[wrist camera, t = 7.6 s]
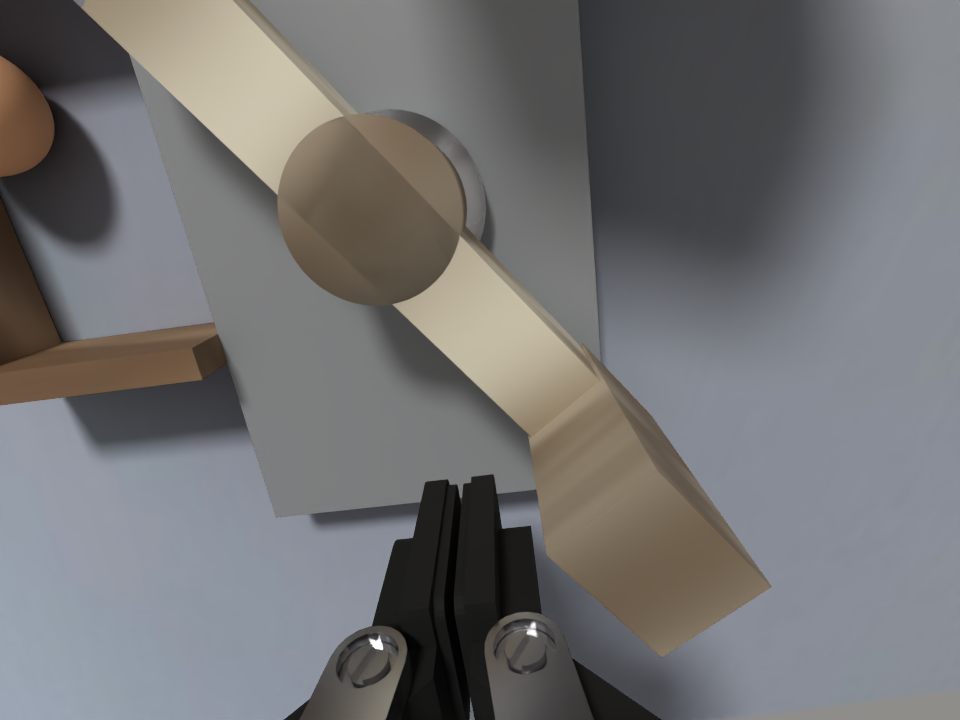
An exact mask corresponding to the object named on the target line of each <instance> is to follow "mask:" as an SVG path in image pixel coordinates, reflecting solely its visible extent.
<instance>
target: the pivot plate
mask: <svg viewBox="0 0 960 720" xmlns="http://www.w3.org/2000/svg"><path fill="white" fill-rule="evenodd" d="M364 114H371V115H379V116H383V117H388V118H391V119H394V120H396V121H399V122H402V123H403V124H405V125H407V126H409V127H411V128H413V129H414V130H415V131H417V132H418V133H420V134H421V135H422V136H424V137H425V138H426V139H428V140H429V141H430V142H432V143H433V144H434V145H436V146H437V147H438V148H439V149H440V150H441V151H442V152H443V153H445V155H446V156H447V157H448V158H449V160H450V161H451V162H452V164H453V165H454V167H455V168H456V170H457V172H458V174H459V176H460V178H461V181H462V184H463V187H464V190H465V195H466V200H467V220H466V227H467V228H468V229H469V230H470V231H471V232H472V233H473V234H474V235H475V236H476V237H477V238H478V240H479V241H480V240H481V237H482V234H483V229H484V224H485V216H486V200H485V192H484V186H483V182H482V179H481V176H480V173H479V171H478V169H477V166H476V164H475V162H474V160H473V159H472V157H471V156H470V154H469V153H468V151H467V149H466V148H465V147H464V146H463V144H462V143H461V142H460V141H459V140H458V139H457V138H456V137H455V136H454V135H453V134H452V133H451V132H450V131H449V130H447V129H446V128H445V127H443V126H442V125H440V124H439V123H437V122H436V121H434V120H432V119H430V118H428V117H426V116H423V115H420V114H417V113H415V112H410V111H405V110H396V109H385V110H376V111H371V112H367V113H364Z"/></svg>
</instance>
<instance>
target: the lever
mask: <svg viewBox="0 0 960 720" xmlns="http://www.w3.org/2000/svg"><path fill="white" fill-rule="evenodd" d="M74 1H75V2H76V3H77V4H78V5H79V6H80V7H81V8H82V9H83V10H84V11H85V12H86V13H87V14H88V15H89V16H90V17H91V18H92V19H94V20H95V21H96V22H97V23H98V24H99V25H100V26H101V27H102V28H103V29H104V30H105V31H106V32H107V33H108V34H109V35H110V36H111V37H112V38H113V39H114V40H116V41H117V42H118V43H119V44H120V45H121V46H122V47H123V48H124V49H125V50H126V51H127V52H128V53H129V54H130V55H131V56H132V57H133V58H134V59H135V60H137V61H138V62H139V63H140V64H141V65H142V66H143V67H144V68H145V69H146V70H147V71H148V72H149V73H150V74H151V75H152V76H153V77H154V78H155V79H156V80H158V81H159V82H160V83H161V84H162V85H163V86H164V87H165V88H166V89H167V90H168V91H169V92H170V93H171V94H172V95H173V96H174V97H175V98H176V99H177V100H178V101H180V102H181V103H182V104H183V105H184V106H185V107H186V108H187V109H188V110H189V111H190V112H191V113H192V114H193V115H194V116H195V117H196V118H197V119H198V120H199V121H201V122H202V123H203V124H204V125H205V126H206V127H207V128H208V129H209V130H210V131H211V132H212V133H213V134H214V135H215V136H216V137H217V138H218V139H219V140H220V141H221V142H223V143H224V144H225V145H226V146H227V147H228V148H229V149H230V150H231V151H232V152H233V153H234V154H235V155H236V156H237V157H238V158H239V159H240V160H241V161H242V162H244V163H245V164H246V165H247V166H248V167H249V168H250V169H251V170H252V171H253V172H254V173H255V174H256V175H257V176H258V177H259V178H260V179H261V180H262V181H263V182H265V183H266V184H267V185H268V186H269V187H270V188H271V189H272V190H273V191H274V192H275V193H276V194H277V195H278V200H277V204H278V217H279V223H280V228H281V231H282V234H283V238H284V240H285V242H286V245H287V247H288V249H289V251H290V253H291V255H292V256H293V258H294V260H295V261H296V263H297V264H298V265H299V267H300V268H301V269H302V271H303V272H304V273H305V274H306V275H307V276H308V277H309V278H310V279H311V280H312V281H313V282H315V283H316V284H317V285H318V286H320V287H321V288H322V289H324V290H326V291H327V292H329V293H330V294H332V295H334V296H336V297H338V298H340V299H343V300H346V301H349V302H352V303H356V304H361V305H370V306H383V305H391V304H392V305H394V306H395V307H396V308H397V309H398V310H399V311H400V312H401V313H402V314H403V315H404V316H405V317H406V318H407V319H408V320H409V321H410V322H411V323H412V324H413V325H415V326H416V327H417V328H418V329H419V330H420V331H421V332H422V333H423V334H424V335H425V336H426V337H427V338H428V339H429V340H430V341H431V342H432V343H433V344H434V345H435V346H437V347H438V348H439V349H440V350H441V351H442V352H443V353H444V354H445V355H446V356H447V357H448V358H449V359H450V360H451V361H452V362H453V363H454V364H455V365H456V366H458V367H459V368H460V369H461V370H462V371H463V372H464V373H465V374H466V375H467V376H468V377H469V378H470V379H471V380H472V381H473V382H474V383H475V384H476V385H477V386H479V387H480V388H481V389H482V390H483V391H484V392H485V393H486V394H487V395H488V396H489V397H490V398H491V399H492V400H493V401H494V402H495V403H496V404H497V405H498V406H499V407H501V408H502V409H503V410H504V411H505V412H506V413H507V414H508V415H509V416H510V417H511V418H512V419H513V420H514V421H515V422H516V423H517V424H518V425H519V426H520V427H522V428H523V429H524V430H525V431H526V432H527V433H528V438H529V444H530V451H531V457H532V464H533V470H534V476H535V483H536V489H537V496H538V502H539V509H540V515H541V522H542V528H543V535H544V541H545V548H546V554H547V556H548V557H549V558H550V559H551V560H552V561H553V562H554V563H556V564H557V565H558V566H559V567H560V568H561V569H562V570H563V571H565V572H566V573H567V574H568V575H569V576H570V577H571V578H573V579H574V580H575V581H576V582H577V583H578V584H579V585H580V586H582V587H583V588H584V589H585V590H586V591H587V592H588V593H589V594H591V595H592V596H593V597H594V598H595V599H596V600H597V601H598V602H600V603H601V604H602V605H603V606H604V607H605V608H606V609H608V610H609V611H610V612H611V613H612V614H613V615H614V616H615V617H617V618H618V619H619V620H620V621H621V622H622V623H623V624H624V625H626V626H627V627H628V628H629V629H630V630H631V631H632V632H634V633H635V634H636V635H637V636H638V637H639V638H640V639H641V640H643V641H644V642H645V643H646V644H647V645H648V646H649V647H650V648H652V649H653V650H654V651H655V652H656V653H657V654H658V655H659V656H661V657H663V656H665V655H667V654H668V653H670V652H671V651H673V650H674V649H676V648H677V647H679V646H681V645H682V644H684V643H685V642H687V641H688V640H690V639H691V638H693V637H695V636H696V635H698V634H699V633H701V632H702V631H704V630H705V629H707V628H709V627H710V626H712V625H713V624H715V623H716V622H718V621H719V620H721V619H723V618H724V617H726V616H727V615H729V614H730V613H732V612H733V611H735V610H737V609H738V608H740V607H741V606H743V605H744V604H746V603H747V602H749V601H750V600H752V599H754V598H755V597H757V596H758V595H760V594H761V593H763V592H764V591H766V590H768V589H769V588H771V585H770V584H769V582H768V581H767V579H766V578H765V577H764V575H763V574H762V572H761V571H760V570H759V568H758V567H757V565H756V564H755V562H754V561H753V560H752V558H751V557H750V555H749V554H748V552H747V551H746V550H745V548H744V547H743V545H742V544H741V542H740V541H739V540H738V538H737V537H736V535H735V534H734V533H733V531H732V530H731V528H730V527H729V525H728V524H727V523H726V521H725V520H724V518H723V517H722V515H721V514H720V513H719V511H718V510H717V508H716V507H715V505H714V504H713V503H712V501H711V500H710V498H709V497H708V496H707V494H706V493H705V491H704V490H703V488H702V487H701V486H700V484H699V483H698V481H697V480H696V478H695V477H694V476H693V474H692V473H691V471H690V470H689V468H688V467H687V466H686V464H685V463H684V461H683V460H682V459H681V457H680V456H679V454H678V453H677V451H676V450H675V449H674V447H673V446H672V444H671V443H670V441H669V440H668V439H667V437H666V436H665V434H664V433H663V431H662V430H661V429H660V427H659V426H658V424H657V423H656V422H655V420H654V419H653V417H652V416H651V415H650V414H649V412H648V411H647V410H646V409H645V408H644V407H643V406H642V405H641V404H640V403H639V402H638V401H637V400H636V399H635V398H634V397H633V396H632V395H631V394H630V393H629V391H628V390H627V389H626V388H625V387H624V386H623V385H622V384H621V383H620V382H619V381H618V380H617V379H616V378H615V377H614V376H613V375H612V374H611V373H610V372H609V371H608V369H607V368H606V367H605V366H604V365H603V364H602V363H601V362H600V361H599V360H598V359H597V358H596V357H595V356H594V355H593V354H592V353H591V352H590V351H589V350H588V349H587V347H586V346H585V345H584V344H583V343H582V344H581V345H579V344H578V343H577V342H576V341H575V340H574V339H573V338H572V337H571V336H570V335H569V334H568V333H567V332H566V330H565V329H564V328H563V327H562V326H561V325H560V324H559V323H558V322H557V321H556V320H555V319H554V318H553V317H552V316H551V315H550V314H549V313H548V312H547V311H546V310H545V309H544V307H543V306H542V305H541V304H540V303H539V302H538V301H537V300H536V299H535V298H534V297H533V296H532V295H531V294H530V293H529V292H528V291H527V290H526V289H525V288H524V287H523V286H522V284H521V283H520V282H519V281H518V280H517V279H516V278H515V277H514V276H513V275H512V274H511V273H510V272H509V271H508V270H507V269H506V268H505V267H504V266H503V265H502V264H501V263H500V261H499V260H498V259H497V258H496V257H495V256H494V255H493V254H492V253H491V252H490V251H489V250H488V249H487V248H486V247H485V246H484V245H483V244H482V243H481V242H480V241H479V240H478V238H477V237H476V236H475V235H474V234H473V233H472V232H471V231H470V230H469V229H468V228H467V227H466V220H467V200H466V195H465V190H464V187H463V184H462V181H461V178H460V176H459V174H458V172H457V170H456V168H455V167H454V165H453V164H452V162H451V161H450V160H449V158H448V157H447V156H446V155H445V153H443V152H442V151H441V150H440V149H439V148H438V147H437V146H436V145H434V144H433V143H432V142H430V141H429V140H428V139H426V138H425V137H424V136H422V135H421V134H420V133H418V132H417V131H415V130H414V129H413V128H411V127H409V126H407V125H405V124H403V123H402V122H399V121H396V120H394V119H391V118H388V117H383V116H379V115H371V114H358V113H357V112H356V111H355V110H354V109H353V108H352V107H351V106H350V105H349V104H348V103H347V102H346V101H345V99H344V98H343V97H342V96H341V95H340V94H339V93H338V92H337V91H336V90H335V89H334V88H333V87H332V86H331V85H330V84H329V83H328V82H327V81H326V80H325V79H324V78H323V76H322V75H321V74H320V73H319V72H318V71H317V70H316V69H315V68H314V67H313V66H312V65H311V64H310V63H309V62H308V61H307V60H306V59H305V58H304V57H303V56H302V55H301V53H300V52H299V51H298V50H297V49H296V48H295V47H294V46H293V45H292V44H291V43H290V42H289V41H288V40H287V39H286V38H285V37H284V36H283V35H282V34H281V33H280V32H279V30H278V29H277V28H276V27H275V26H274V25H273V24H272V23H271V22H270V21H269V20H268V19H267V18H266V17H265V16H264V15H263V14H262V13H261V12H260V11H259V10H258V9H257V7H256V6H255V5H254V4H253V3H252V2H251V1H250V0H74Z"/></svg>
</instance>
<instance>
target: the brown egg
mask: <svg viewBox="0 0 960 720" xmlns="http://www.w3.org/2000/svg"><path fill="white" fill-rule="evenodd" d="M53 139H54V121H53V116H52V112H51V110H50V107H49V105H48V103H47V101H46V99H45V97H44V96H43V94H42V93H41V91H40V90H39V88H38V87H37V86H36V85H35V83H34V82H33V81H32V80H31V79H30V78H29V77H28V76H27V75H26V74H25V73H24V72H23V71H21V70H20V69H19V68H18V67H17V66H15V65H14V64H12V63H11V62H9V61H8V60H6V59H5V58H3V57H2V56H0V177H4V176H12V175H16V174H19V173H22V172H25V171H27V170H29V169H31V168H33V167H34V166H36V165H37V164H39V163H40V162H41V161H42V160H43V159H44V157H45V156H46V155H47V154H48V152H49V150H50V148H51V146H52V143H53Z"/></svg>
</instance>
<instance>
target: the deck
mask: <svg viewBox="0 0 960 720" xmlns="http://www.w3.org/2000/svg"><path fill="white" fill-rule="evenodd" d="M250 1H251V2H252V3H253V4H254V5H255V6H256V7H257V9H258V10H259V11H260V12H261V13H262V14H263V15H264V16H265V17H266V18H267V19H268V20H269V21H270V22H271V23H272V24H273V25H274V26H275V27H276V28H277V29H278V30H279V32H280V33H281V34H282V35H283V36H284V37H285V38H286V39H287V40H288V41H289V42H290V43H291V44H292V45H293V46H294V47H295V48H296V49H297V50H298V51H299V52H300V53H301V55H302V56H303V57H304V58H305V59H306V60H307V61H308V62H309V63H310V64H311V65H312V66H313V67H314V68H315V69H316V70H317V71H318V72H319V73H320V74H321V75H322V76H323V78H324V79H325V80H326V81H327V82H328V83H329V84H330V85H331V86H332V87H333V88H334V89H335V90H336V91H337V92H338V93H339V94H340V95H341V96H342V97H343V98H344V99H345V101H346V102H347V103H348V104H349V105H350V106H351V107H352V108H353V109H354V110H355V111H356V112H357V113H358V114H364V113H367V112H371V111H376V110H385V109H396V110H405V111H410V112H415V113H417V114H420V115H423V116H426V117H428V118H430V119H432V120H434V121H436V122H437V123H439V124H440V125H442V126H443V127H445V128H446V129H447V130H449V131H450V132H451V133H452V134H453V135H454V136H455V137H456V138H457V139H458V140H459V141H460V142H461V143H462V144H463V146H464V147H465V148H466V149H467V151H468V153H469V154H470V156H471V157H472V159H473V160H474V162H475V164H476V166H477V169H478V171H479V173H480V176H481V179H482V182H483V186H484V192H485V200H486V216H485V224H484V229H483V234H482V237H481V240H480V242H481V243H482V244H483V245H484V246H485V247H486V248H487V249H488V250H489V251H490V252H491V253H492V254H493V255H494V256H495V257H496V258H497V259H498V260H499V261H500V263H501V264H502V265H503V266H504V267H505V268H506V269H507V270H508V271H509V272H510V273H511V274H512V275H513V276H514V277H515V278H516V279H517V280H518V281H519V282H520V283H521V284H522V286H523V287H524V288H525V289H526V290H527V291H528V292H529V293H530V294H531V295H532V296H533V297H534V298H535V299H536V300H537V301H538V302H539V303H540V304H541V305H542V306H543V307H544V309H545V310H546V311H547V312H548V313H549V314H550V315H551V316H552V317H553V318H554V319H555V320H556V321H557V322H558V323H559V324H560V325H561V326H562V327H563V328H564V329H565V330H566V332H567V333H568V334H569V335H570V336H571V337H572V338H573V339H574V340H575V341H576V342H577V343H578V344H579V345H581V344H582V343H583V344H584V345H585V346H586V347H587V349H588V350H589V351H590V352H591V353H592V354H593V355H594V356H595V357H596V358H597V359H598V360H599V361H600V362H601V356H600V340H599V324H598V308H597V293H596V277H595V261H594V245H593V229H592V213H591V197H590V181H589V165H588V149H587V133H586V117H585V101H584V85H583V69H582V53H581V37H580V21H579V5H578V0H250ZM129 55H130V54H129ZM130 58H131V61H132V65H133V68H134V71H135V74H136V77H137V80H138V83H139V87H140V90H141V93H142V96H143V99H144V102H145V106H146V109H147V112H148V115H149V118H150V121H151V124H152V128H153V131H154V134H155V137H156V140H157V143H158V147H159V150H160V153H161V156H162V159H163V162H164V165H165V169H166V172H167V175H168V178H169V181H170V184H171V188H172V191H173V194H174V197H175V200H176V203H177V206H178V210H179V213H180V216H181V219H182V222H183V225H184V229H185V232H186V235H187V238H188V241H189V244H190V247H191V251H192V254H193V257H194V260H195V263H196V266H197V270H198V273H199V276H200V279H201V282H202V285H203V288H204V292H205V295H206V298H207V301H208V304H209V307H210V311H211V314H212V317H213V320H214V323H215V326H216V329H217V333H218V336H219V339H220V342H221V345H222V348H223V352H224V355H225V358H226V361H227V364H228V367H229V370H230V374H231V377H232V380H233V383H234V386H235V389H236V393H237V396H238V399H239V402H240V405H241V408H242V411H243V415H244V418H245V421H246V424H247V427H248V430H249V434H250V437H251V440H252V443H253V446H254V449H255V452H256V456H257V459H258V462H259V465H260V468H261V471H262V475H263V478H264V481H265V484H266V487H267V490H268V494H269V497H270V500H271V503H272V506H273V509H274V512H275V516H276V518H277V517H286V516H295V515H305V514H314V513H323V512H333V511H342V510H351V509H361V508H370V507H379V506H389V505H398V504H407V503H417V502H421V499H422V494H423V490H424V485H425V482H427V481H436V480H445V479H448V480H449V483H450V485H454V484H457V485H458V489H459V495H460V498H462V492H463V484H464V483H471V477H472V476H481V475H490V474H494V478H495V484H496V491H497V494H501V493H510V492H520V491H529V490H537V489H536V483H535V476H534V470H533V464H532V457H531V451H530V444H529V438H528V433H527V432H526V431H525V430H524V429H523V428H522V427H520V426H519V425H518V424H517V423H516V422H515V421H514V420H513V419H512V418H511V417H510V416H509V415H508V414H507V413H506V412H505V411H504V410H503V409H502V408H501V407H499V406H498V405H497V404H496V403H495V402H494V401H493V400H492V399H491V398H490V397H489V396H488V395H487V394H486V393H485V392H484V391H483V390H482V389H481V388H480V387H479V386H477V385H476V384H475V383H474V382H473V381H472V380H471V379H470V378H469V377H468V376H467V375H466V374H465V373H464V372H463V371H462V370H461V369H460V368H459V367H458V366H456V365H455V364H454V363H453V362H452V361H451V360H450V359H449V358H448V357H447V356H446V355H445V354H444V353H443V352H442V351H441V350H440V349H439V348H438V347H437V346H435V345H434V344H433V343H432V342H431V341H430V340H429V339H428V338H427V337H426V336H425V335H424V334H423V333H422V332H421V331H420V330H419V329H418V328H417V327H416V326H415V325H413V324H412V323H411V322H410V321H409V320H408V319H407V318H406V317H405V316H404V315H403V314H402V313H401V312H400V311H399V310H398V309H397V308H396V307H395V306H394V305H392V304H391V305H383V306H370V305H361V304H356V303H352V302H349V301H346V300H343V299H340V298H338V297H336V296H334V295H332V294H330V293H329V292H327V291H326V290H324V289H322V288H321V287H320V286H318V285H317V284H316V283H315V282H313V281H312V280H311V279H310V278H309V277H308V276H307V275H306V274H305V273H304V272H303V271H302V269H301V268H300V267H299V265H298V264H297V263H296V261H295V260H294V258H293V256H292V255H291V253H290V251H289V249H288V247H287V245H286V242H285V240H284V238H283V234H282V231H281V228H280V223H279V217H278V204H277V200H278V195H277V194H276V193H275V192H274V191H273V190H272V189H271V188H270V187H269V186H268V185H267V184H266V183H265V182H263V181H262V180H261V179H260V178H259V177H258V176H257V175H256V174H255V173H254V172H253V171H252V170H251V169H250V168H249V167H248V166H247V165H246V164H245V163H244V162H242V161H241V160H240V159H239V158H238V157H237V156H236V155H235V154H234V153H233V152H232V151H231V150H230V149H229V148H228V147H227V146H226V145H225V144H224V143H223V142H221V141H220V140H219V139H218V138H217V137H216V136H215V135H214V134H213V133H212V132H211V131H210V130H209V129H208V128H207V127H206V126H205V125H204V124H203V123H202V122H201V121H199V120H198V119H197V118H196V117H195V116H194V115H193V114H192V113H191V112H190V111H189V110H188V109H187V108H186V107H185V106H184V105H183V104H182V103H181V102H180V101H178V100H177V99H176V98H175V97H174V96H173V95H172V94H171V93H170V92H169V91H168V90H167V89H166V88H165V87H164V86H163V85H162V84H161V83H160V82H159V81H158V80H156V79H155V78H154V77H153V76H152V75H151V74H150V73H149V72H148V71H147V70H146V69H145V68H144V67H143V66H142V65H141V64H140V63H139V62H138V61H137V60H135V59H134V58H133V57H132V56H131V55H130Z"/></svg>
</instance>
